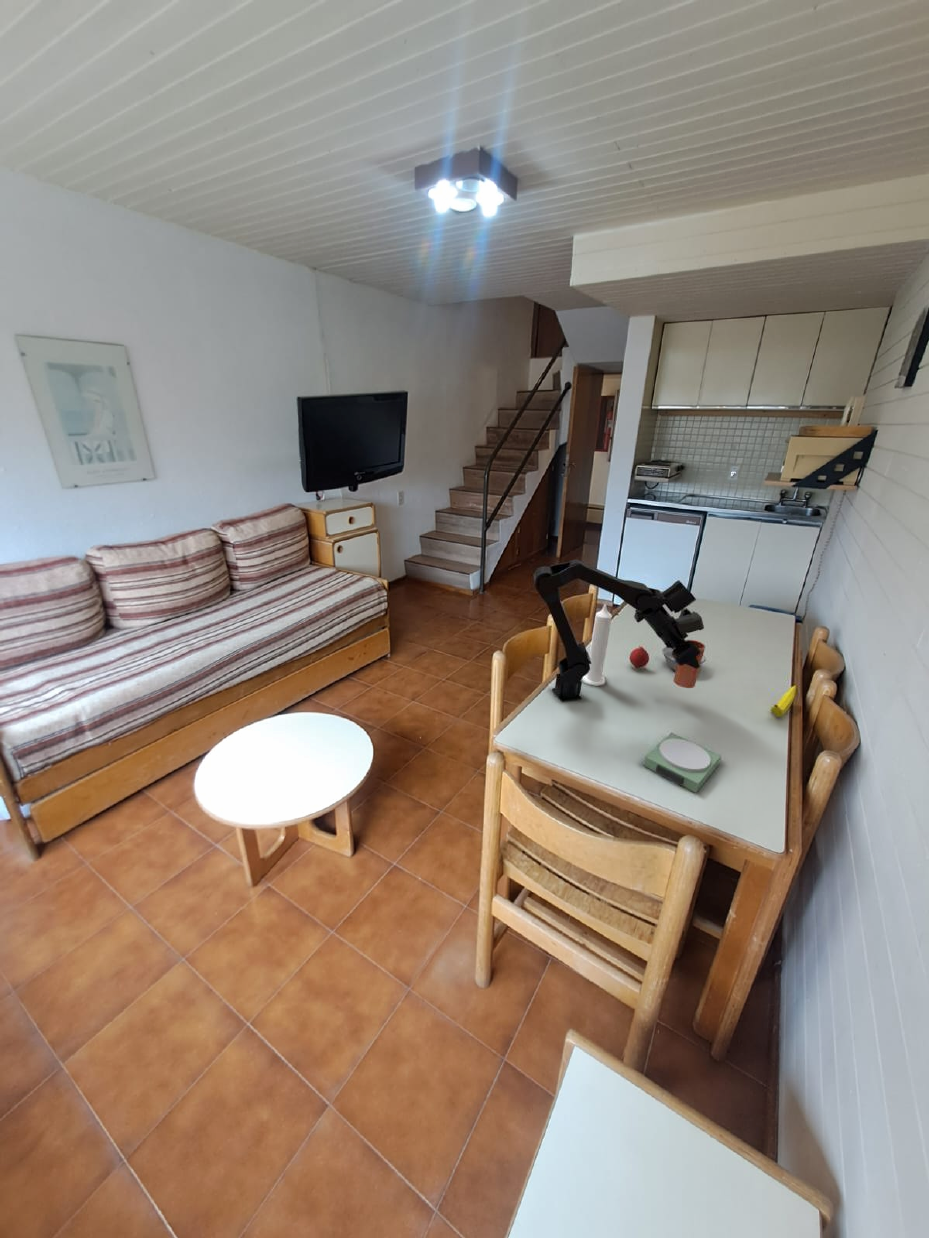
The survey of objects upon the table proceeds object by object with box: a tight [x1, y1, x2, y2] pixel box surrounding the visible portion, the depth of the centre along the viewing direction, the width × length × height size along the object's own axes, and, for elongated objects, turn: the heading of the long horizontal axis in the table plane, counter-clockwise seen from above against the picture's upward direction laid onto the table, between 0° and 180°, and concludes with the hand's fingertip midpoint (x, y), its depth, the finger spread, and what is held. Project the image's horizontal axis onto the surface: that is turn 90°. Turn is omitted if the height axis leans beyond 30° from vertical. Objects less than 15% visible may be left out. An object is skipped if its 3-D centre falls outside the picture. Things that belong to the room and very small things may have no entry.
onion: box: [629, 645, 650, 670], centre depth 157 cm, size 6×6×8 cm
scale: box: [643, 731, 722, 793], centre depth 114 cm, size 14×12×3 cm
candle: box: [581, 603, 613, 687], centre depth 145 cm, size 7×7×25 cm
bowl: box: [661, 646, 707, 671], centre depth 159 cm, size 13×13×5 cm
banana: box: [770, 685, 797, 718], centre depth 136 cm, size 3×19×6 cm, turn 134°
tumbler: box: [673, 639, 706, 689], centre depth 135 cm, size 6×6×12 cm
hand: (694, 662), depth 134 cm, fingers closed on tumbler, 5 cm apart
